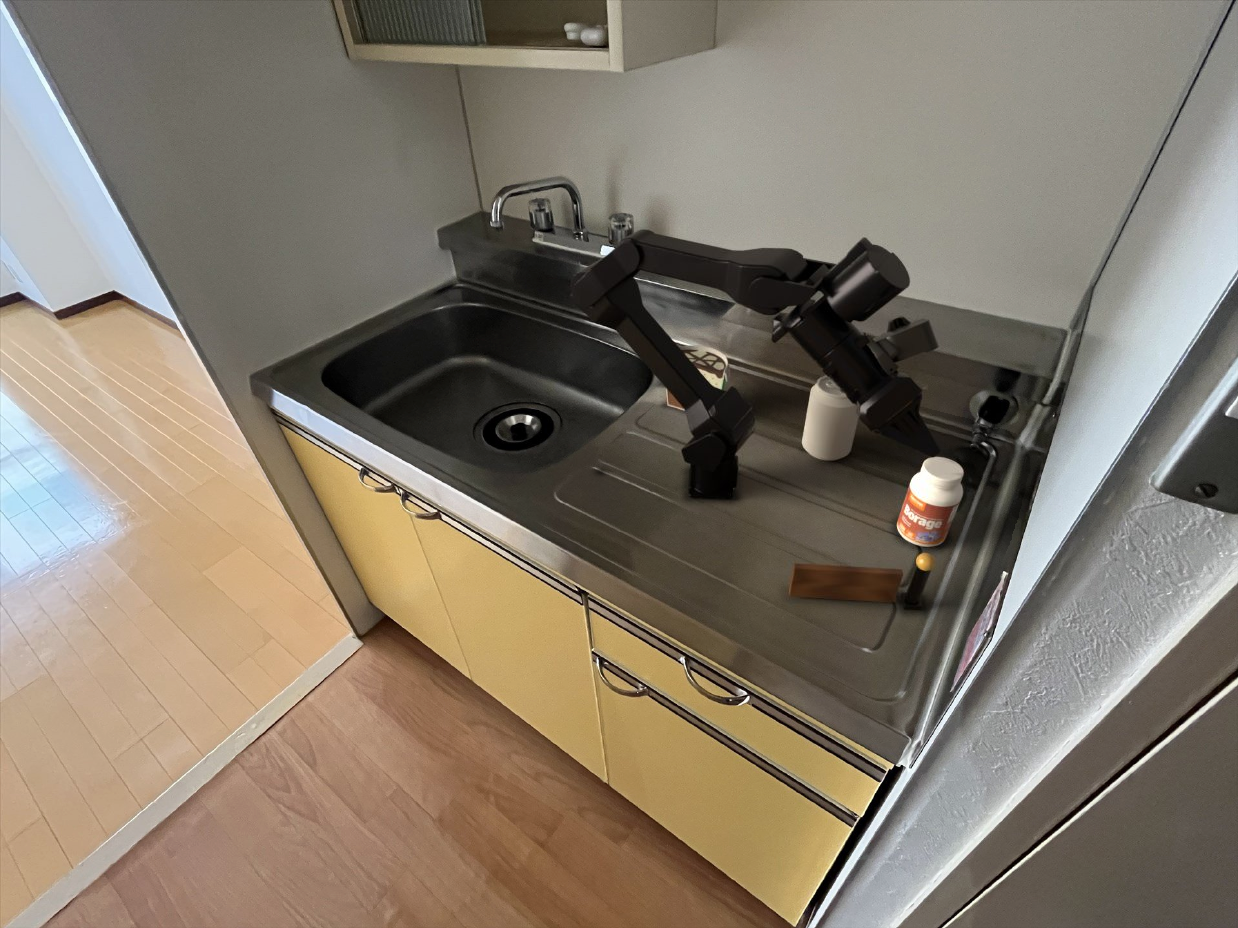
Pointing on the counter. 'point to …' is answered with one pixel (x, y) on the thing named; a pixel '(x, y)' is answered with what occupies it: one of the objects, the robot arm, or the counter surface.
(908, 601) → the yellow topped black post
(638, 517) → the counter surface
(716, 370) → the food container
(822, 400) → the can
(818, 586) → the door
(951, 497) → the pill bottle
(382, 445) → the counter surface
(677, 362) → the robot arm
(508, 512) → the counter surface
